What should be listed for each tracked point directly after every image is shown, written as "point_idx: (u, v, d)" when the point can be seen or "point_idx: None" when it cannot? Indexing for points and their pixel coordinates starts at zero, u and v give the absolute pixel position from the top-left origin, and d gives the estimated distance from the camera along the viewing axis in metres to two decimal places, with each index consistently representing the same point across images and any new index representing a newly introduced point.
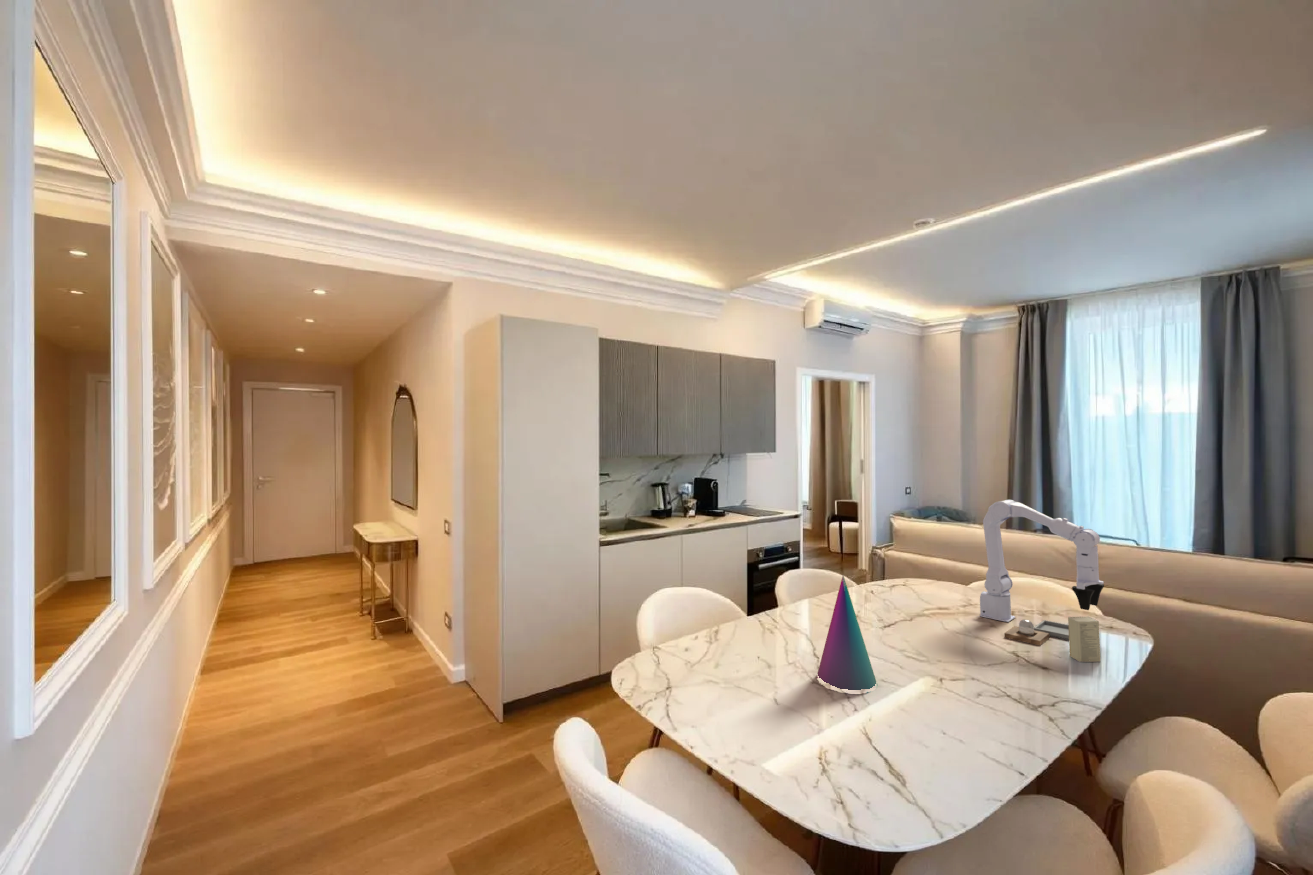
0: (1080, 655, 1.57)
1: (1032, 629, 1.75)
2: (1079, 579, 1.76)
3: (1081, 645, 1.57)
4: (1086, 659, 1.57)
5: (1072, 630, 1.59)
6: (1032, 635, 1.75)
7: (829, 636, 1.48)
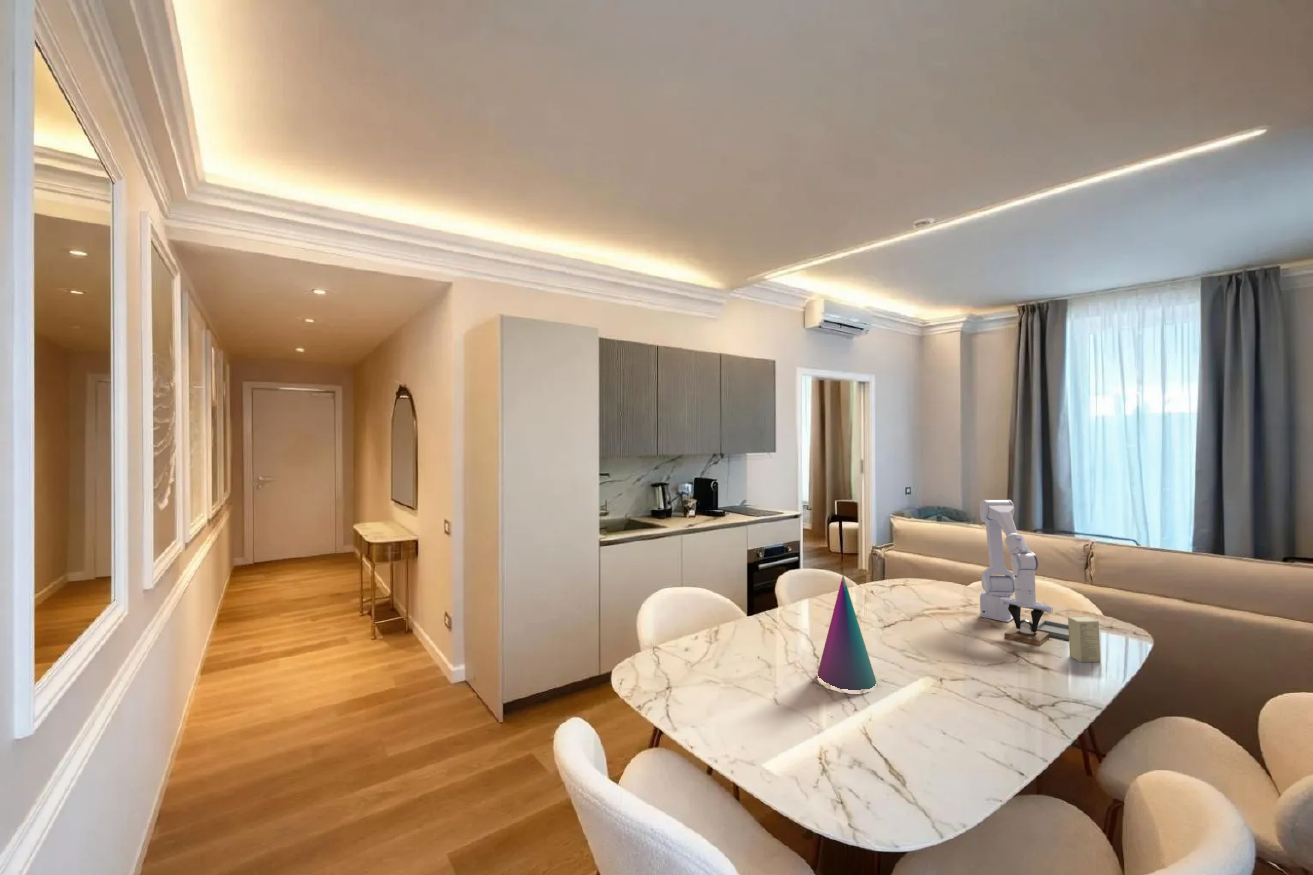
0: (1080, 655, 1.57)
1: None
2: None
3: (1081, 645, 1.57)
4: (1086, 659, 1.57)
5: (1072, 630, 1.59)
6: (1032, 635, 1.75)
7: (829, 636, 1.48)
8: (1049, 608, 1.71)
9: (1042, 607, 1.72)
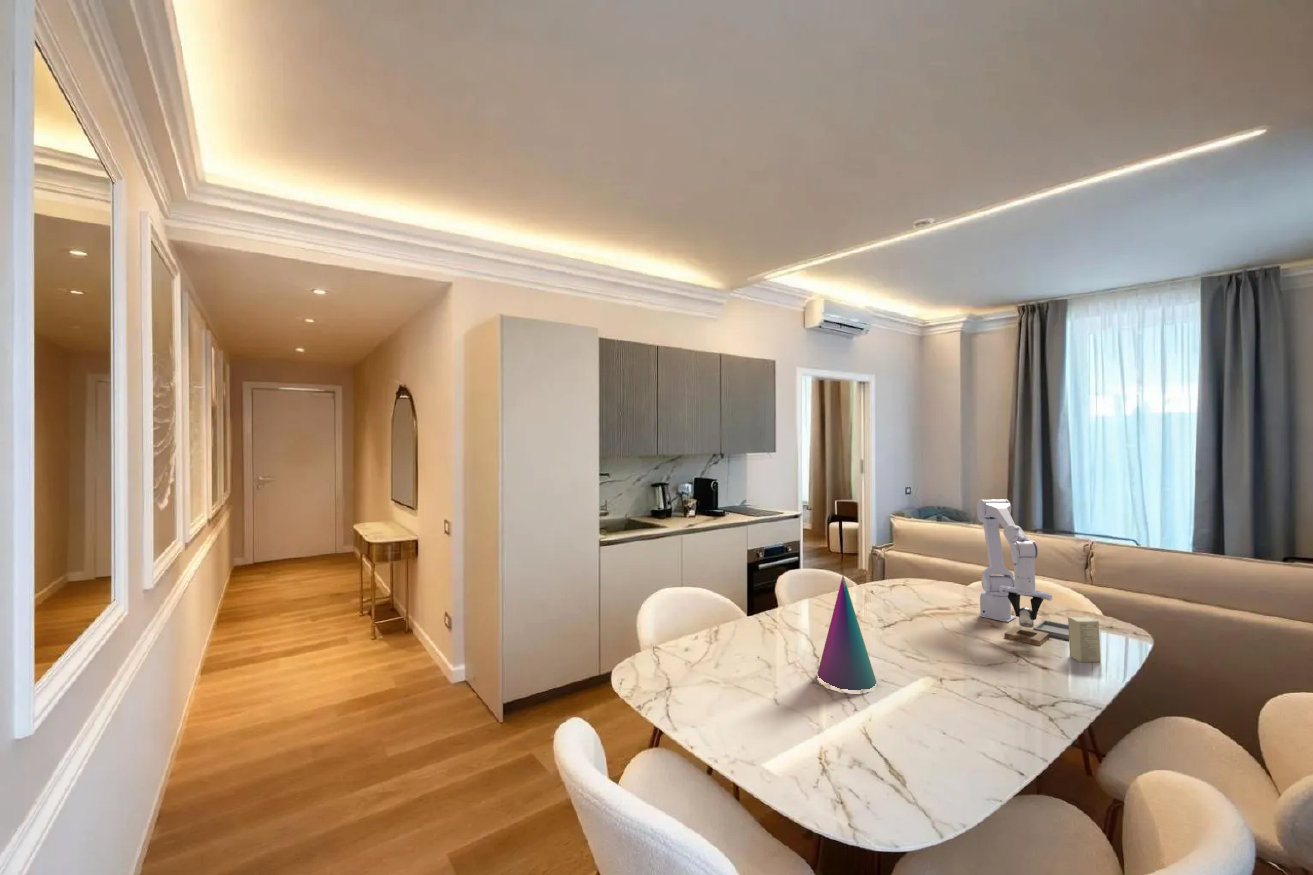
0: (1080, 655, 1.57)
1: (1031, 617, 1.75)
2: None
3: (1081, 645, 1.57)
4: (1086, 659, 1.57)
5: (1072, 630, 1.59)
6: (1031, 623, 1.75)
7: (829, 636, 1.48)
8: (1048, 595, 1.71)
9: (1041, 595, 1.72)
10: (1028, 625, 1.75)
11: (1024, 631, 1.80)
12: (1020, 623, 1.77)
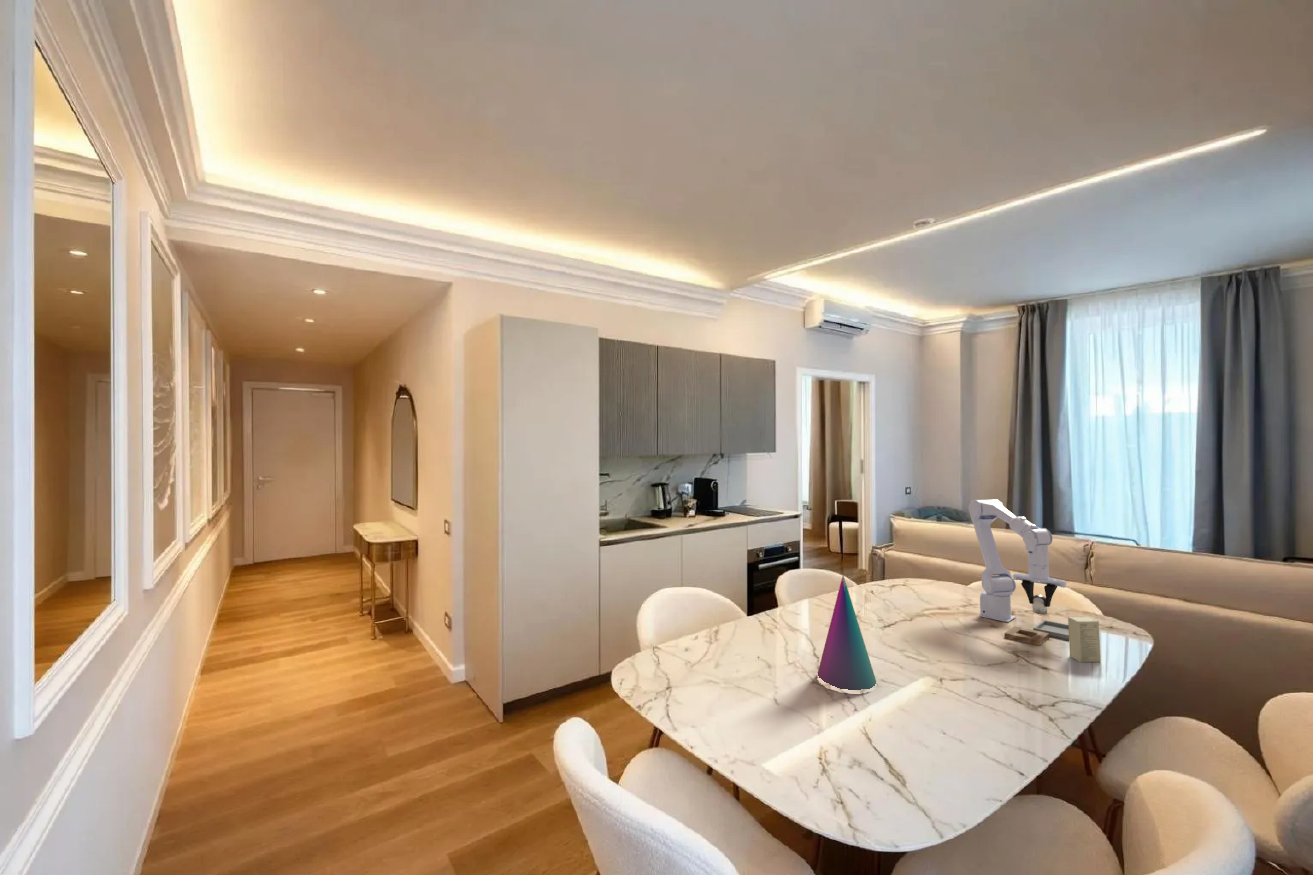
0: (1080, 655, 1.57)
1: (1045, 604, 1.77)
2: None
3: (1081, 645, 1.57)
4: (1086, 659, 1.57)
5: (1072, 630, 1.59)
6: (1045, 610, 1.77)
7: (829, 636, 1.48)
8: (1062, 582, 1.73)
9: (1055, 581, 1.74)
10: (1041, 612, 1.77)
11: (1024, 631, 1.80)
12: (1034, 610, 1.79)
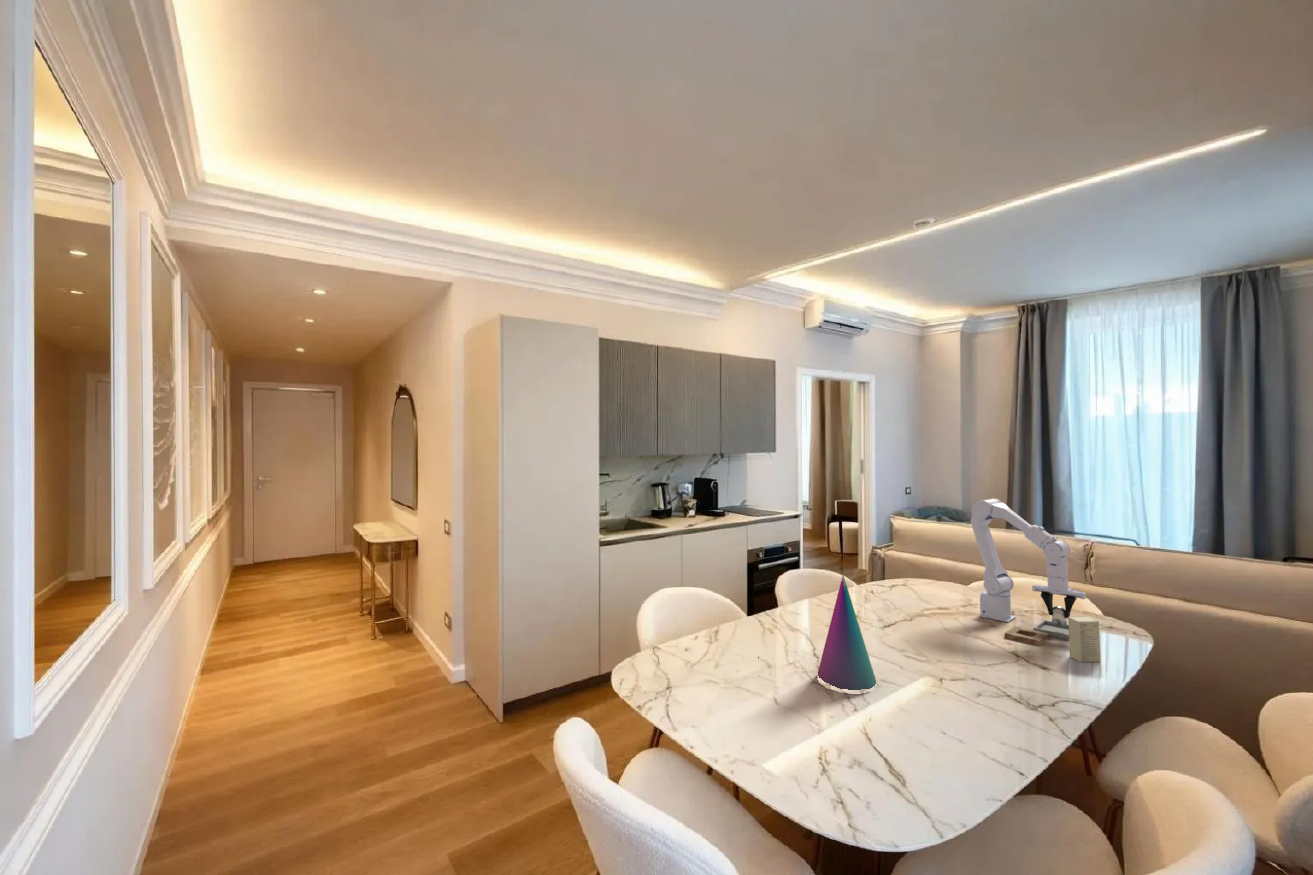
0: (1080, 655, 1.57)
1: None
2: None
3: (1081, 645, 1.57)
4: (1086, 659, 1.57)
5: (1072, 630, 1.59)
6: (1065, 621, 1.79)
7: (829, 636, 1.48)
8: (1082, 594, 1.75)
9: (1075, 593, 1.76)
10: (1061, 623, 1.79)
11: (1024, 631, 1.80)
12: (1053, 621, 1.81)
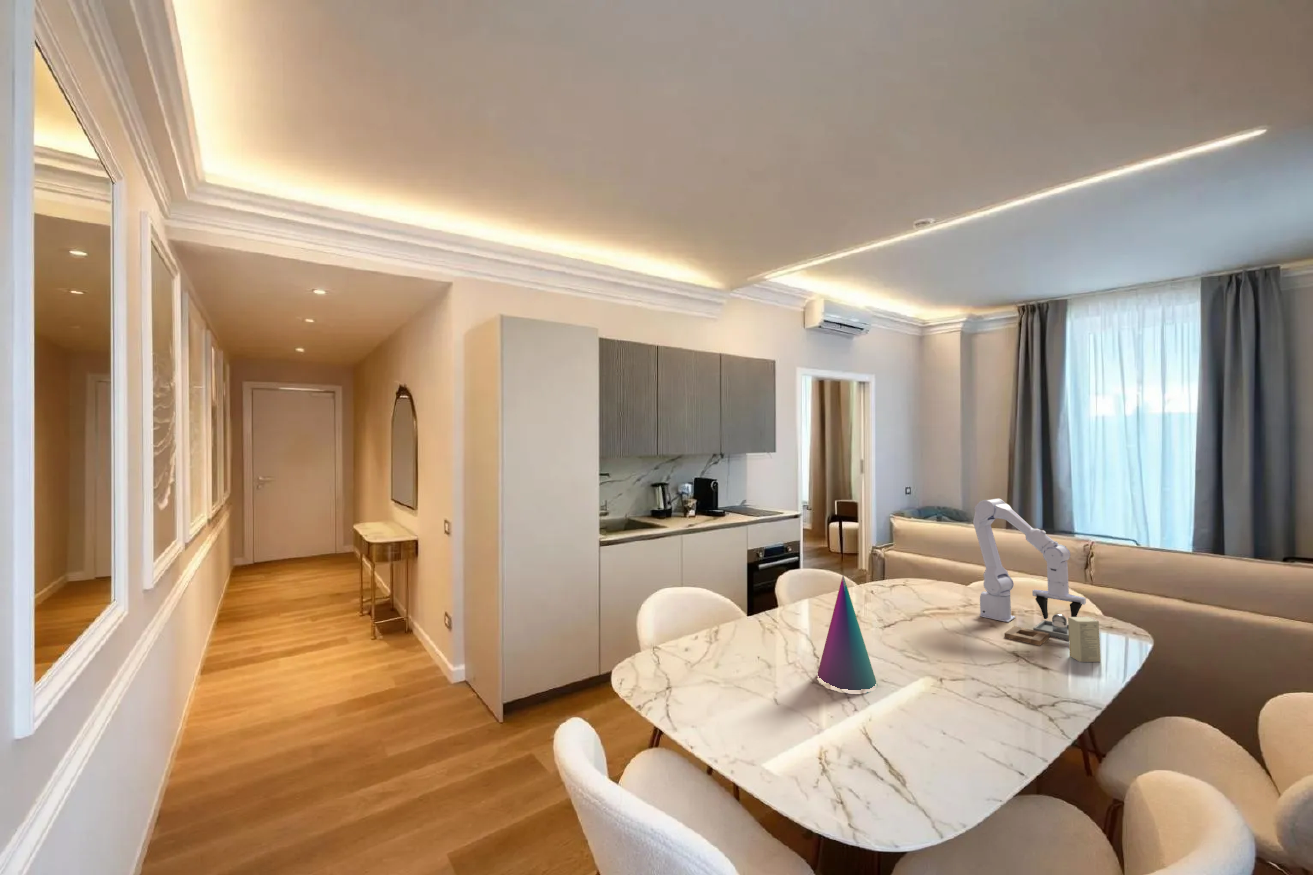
0: (1080, 655, 1.57)
1: (1065, 623, 1.79)
2: None
3: (1081, 645, 1.57)
4: (1086, 659, 1.57)
5: (1072, 630, 1.59)
6: (1065, 629, 1.79)
7: (829, 636, 1.48)
8: (1082, 599, 1.75)
9: (1075, 598, 1.76)
10: (1062, 631, 1.79)
11: (1024, 631, 1.80)
12: (1054, 629, 1.81)
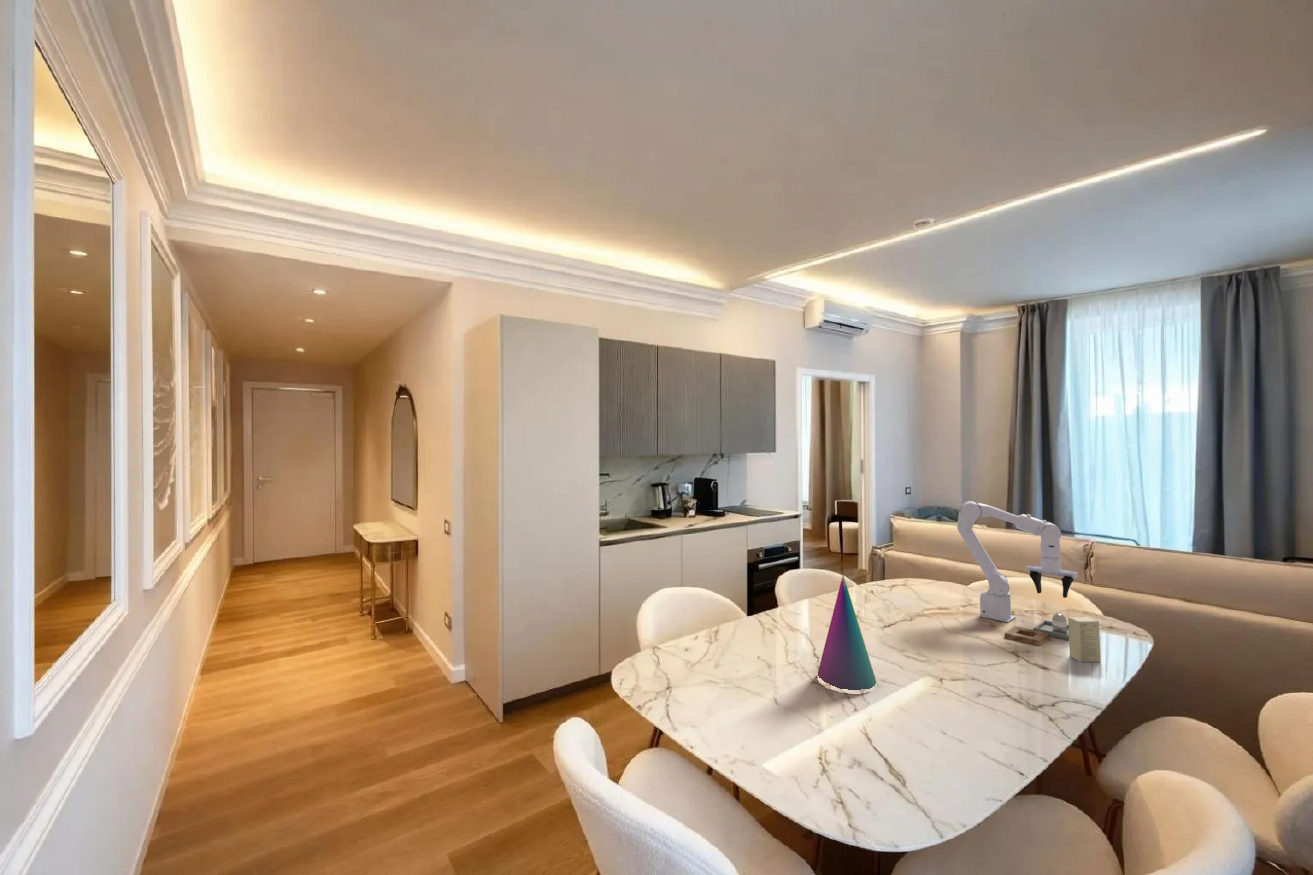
0: (1080, 655, 1.57)
1: (1065, 623, 1.79)
2: None
3: (1081, 645, 1.57)
4: (1086, 659, 1.57)
5: (1072, 630, 1.59)
6: (1065, 629, 1.79)
7: (829, 636, 1.48)
8: (1074, 574, 1.83)
9: (1067, 573, 1.85)
10: (1062, 631, 1.79)
11: (1024, 631, 1.80)
12: (1054, 629, 1.81)
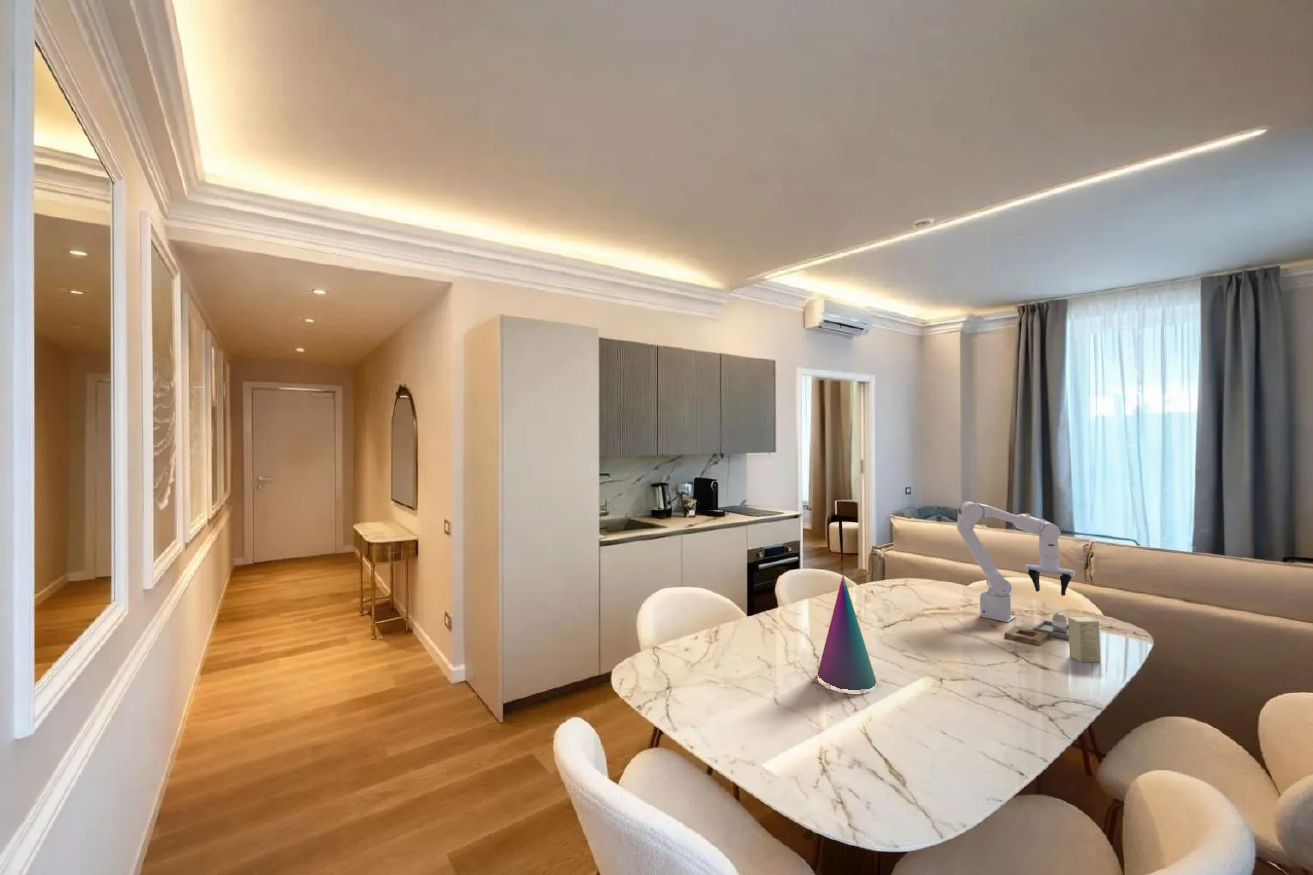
0: (1080, 655, 1.57)
1: (1065, 623, 1.79)
2: None
3: (1081, 645, 1.57)
4: (1086, 659, 1.57)
5: (1072, 630, 1.59)
6: (1065, 629, 1.79)
7: (829, 636, 1.48)
8: (1072, 572, 1.86)
9: (1065, 571, 1.87)
10: (1062, 631, 1.79)
11: (1024, 631, 1.80)
12: (1054, 629, 1.81)
